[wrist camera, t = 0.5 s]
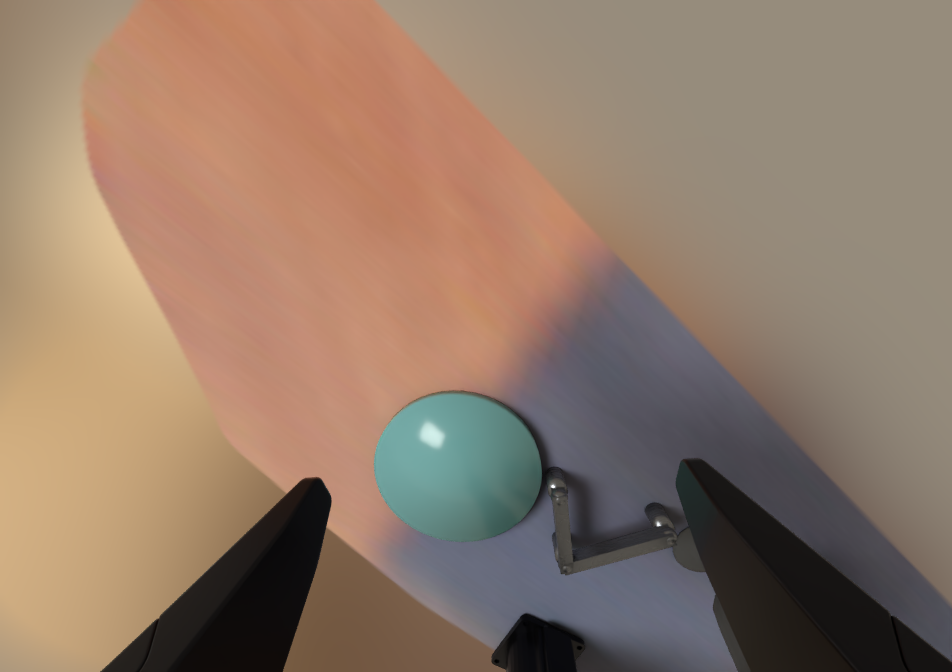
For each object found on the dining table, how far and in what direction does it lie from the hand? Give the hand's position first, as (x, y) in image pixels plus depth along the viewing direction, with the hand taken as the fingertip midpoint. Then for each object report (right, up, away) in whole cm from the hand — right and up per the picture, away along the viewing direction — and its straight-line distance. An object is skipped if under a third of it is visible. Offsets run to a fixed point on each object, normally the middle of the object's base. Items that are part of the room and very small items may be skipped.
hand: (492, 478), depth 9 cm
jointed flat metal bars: (+9, -11, +20) cm, 24 cm away
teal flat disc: (-2, -7, +19) cm, 21 cm away
